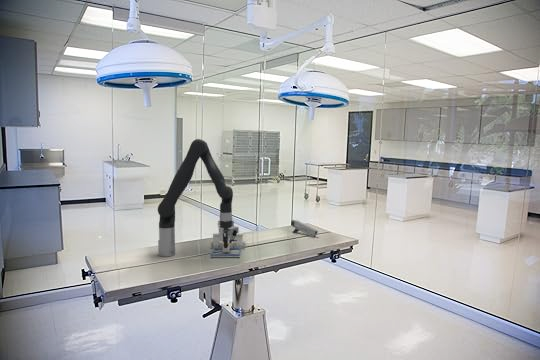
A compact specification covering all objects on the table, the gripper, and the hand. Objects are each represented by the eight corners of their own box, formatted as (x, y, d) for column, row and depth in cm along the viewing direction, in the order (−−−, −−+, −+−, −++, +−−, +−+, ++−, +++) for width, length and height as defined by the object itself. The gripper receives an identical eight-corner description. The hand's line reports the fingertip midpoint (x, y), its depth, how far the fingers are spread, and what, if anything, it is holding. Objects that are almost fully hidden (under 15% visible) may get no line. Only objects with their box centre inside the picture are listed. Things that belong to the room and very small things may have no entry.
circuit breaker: (232, 245, 236) (232, 223, 234) (217, 242, 244) (217, 220, 243) (240, 243, 242) (240, 221, 240) (225, 239, 250) (225, 219, 249)
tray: (210, 258, 208) (210, 254, 208) (213, 251, 222) (213, 247, 221) (239, 258, 209) (239, 254, 208) (240, 251, 222) (240, 247, 222)
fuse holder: (209, 251, 222) (209, 243, 221) (212, 247, 231) (211, 240, 230) (244, 251, 222) (244, 243, 222) (245, 247, 231) (245, 240, 231)
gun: (291, 230, 276) (293, 218, 274) (315, 243, 260) (318, 230, 257) (288, 230, 275) (291, 218, 272) (313, 243, 258) (316, 231, 255)
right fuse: (236, 248, 225) (236, 234, 224) (237, 246, 228) (237, 232, 228) (242, 248, 225) (242, 234, 224) (242, 246, 228) (242, 232, 228)
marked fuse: (222, 252, 213) (222, 237, 212) (223, 250, 217) (223, 236, 216) (229, 252, 213) (228, 237, 212) (229, 250, 217) (229, 236, 216)
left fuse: (213, 248, 224) (212, 234, 224) (213, 246, 228) (213, 232, 227) (218, 248, 224) (218, 234, 224) (219, 246, 228) (219, 232, 227)
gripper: (221, 217, 220) (221, 244, 222) (218, 221, 206) (218, 250, 208) (233, 217, 220) (233, 244, 222) (231, 221, 206) (231, 250, 208)
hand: (226, 247), depth 215 cm, fingers closed on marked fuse, 3 cm apart
